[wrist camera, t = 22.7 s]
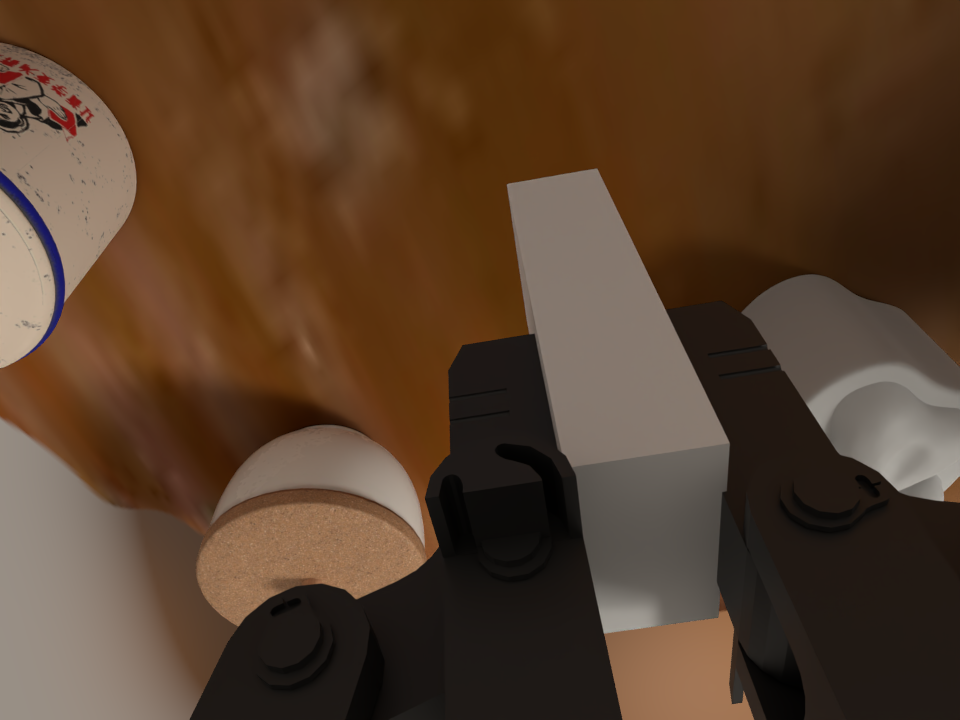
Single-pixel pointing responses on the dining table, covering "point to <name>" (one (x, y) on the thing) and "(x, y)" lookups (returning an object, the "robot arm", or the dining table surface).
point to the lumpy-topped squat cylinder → (867, 380)
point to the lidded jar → (311, 521)
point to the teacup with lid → (53, 193)
